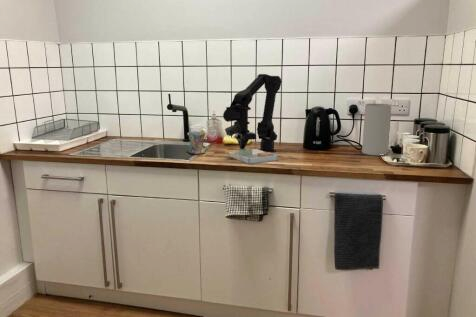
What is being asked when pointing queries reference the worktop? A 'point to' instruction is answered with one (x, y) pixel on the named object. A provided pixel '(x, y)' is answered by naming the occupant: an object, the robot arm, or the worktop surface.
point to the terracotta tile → (264, 154)
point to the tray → (258, 159)
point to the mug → (196, 142)
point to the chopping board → (254, 155)
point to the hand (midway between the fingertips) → (241, 150)
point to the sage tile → (245, 152)
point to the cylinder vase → (376, 129)
